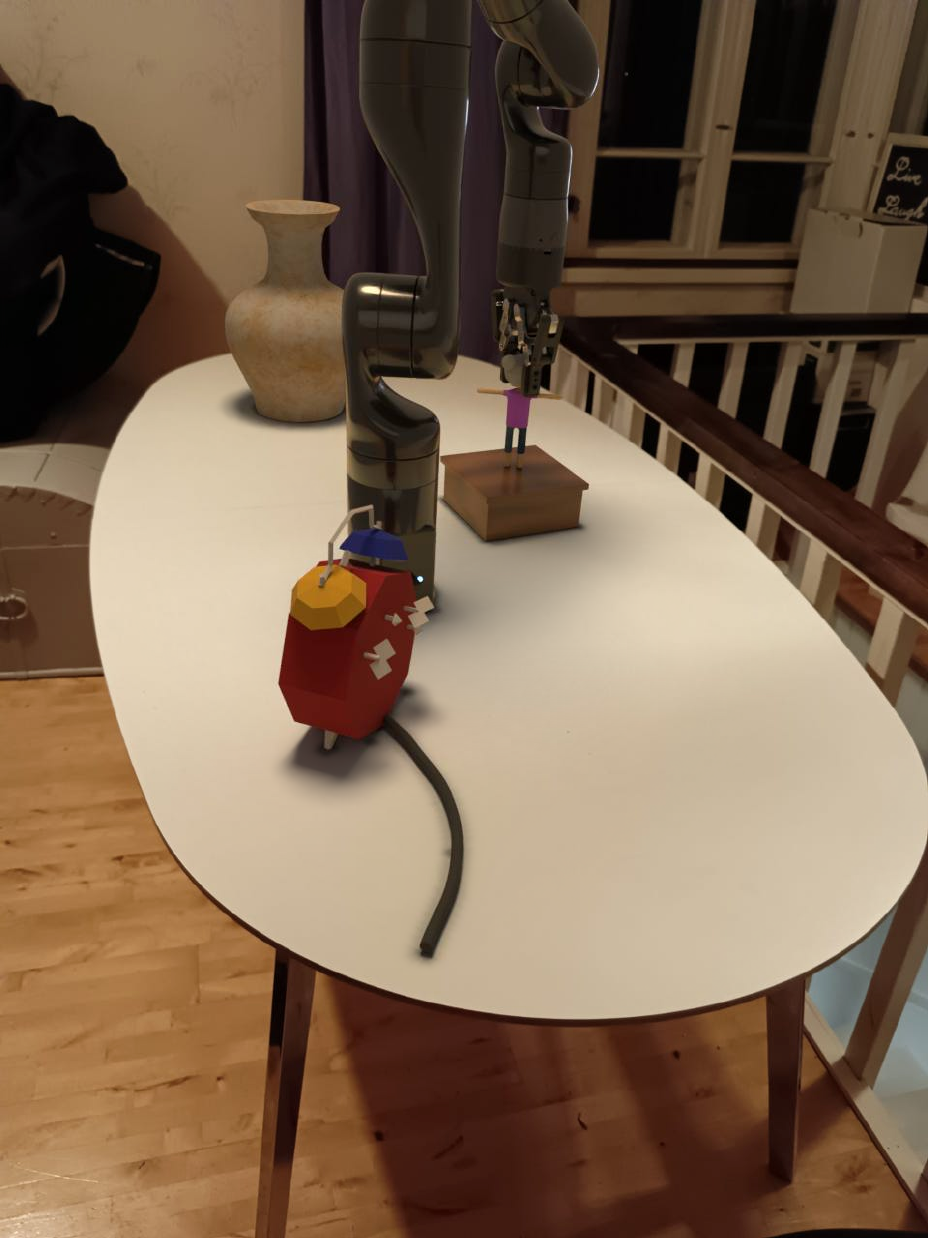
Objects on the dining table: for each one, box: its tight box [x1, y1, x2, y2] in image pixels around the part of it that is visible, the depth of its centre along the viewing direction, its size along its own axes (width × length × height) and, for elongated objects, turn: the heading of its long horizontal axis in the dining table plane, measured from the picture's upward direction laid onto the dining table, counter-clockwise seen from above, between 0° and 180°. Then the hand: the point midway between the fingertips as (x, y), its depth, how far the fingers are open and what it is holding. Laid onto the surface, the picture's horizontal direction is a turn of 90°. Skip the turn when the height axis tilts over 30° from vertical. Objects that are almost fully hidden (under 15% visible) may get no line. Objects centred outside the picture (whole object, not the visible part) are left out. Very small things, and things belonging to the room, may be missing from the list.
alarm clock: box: [277, 505, 435, 750], centre depth 79 cm, size 15×9×20 cm, turn 160°
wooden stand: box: [439, 444, 590, 542], centre depth 122 cm, size 14×14×6 cm
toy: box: [476, 348, 563, 468], centre depth 116 cm, size 10×6×15 cm, turn 84°
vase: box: [224, 199, 346, 423], centre depth 146 cm, size 22×22×30 cm
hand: (519, 388), depth 115 cm, fingers closed on toy, 5 cm apart
